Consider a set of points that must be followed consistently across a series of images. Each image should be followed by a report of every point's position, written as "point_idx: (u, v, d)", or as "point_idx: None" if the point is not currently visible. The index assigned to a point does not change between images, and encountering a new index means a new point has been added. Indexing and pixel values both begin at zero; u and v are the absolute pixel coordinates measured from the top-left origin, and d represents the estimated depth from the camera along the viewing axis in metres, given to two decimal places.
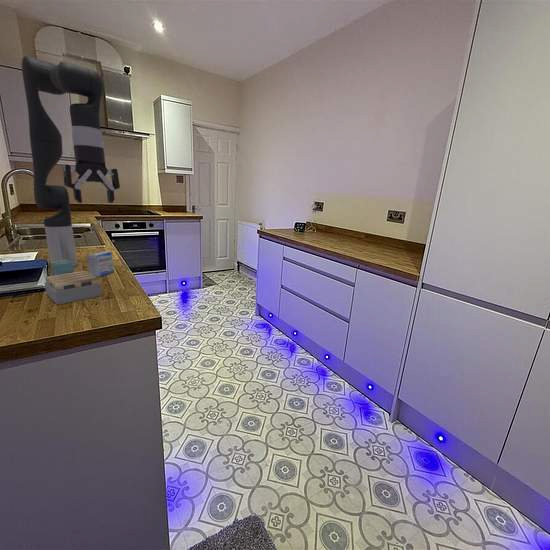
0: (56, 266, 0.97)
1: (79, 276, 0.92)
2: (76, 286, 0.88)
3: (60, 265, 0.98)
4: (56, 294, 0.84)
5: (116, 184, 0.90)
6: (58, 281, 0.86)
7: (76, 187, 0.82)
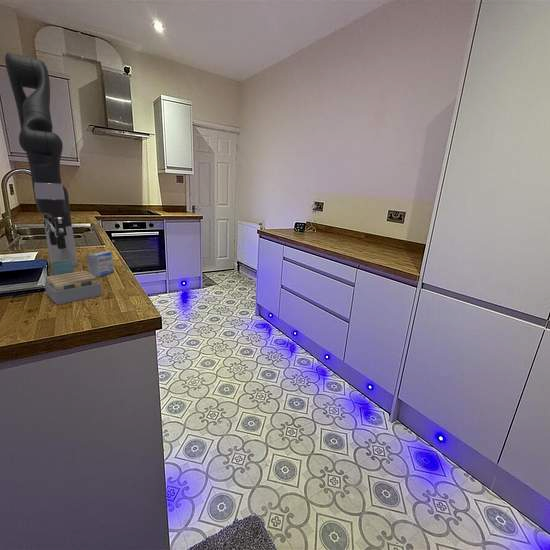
0: (56, 266, 0.97)
1: (79, 276, 0.92)
2: (76, 286, 0.88)
3: (60, 265, 0.98)
4: (56, 294, 0.84)
5: None
6: (58, 281, 0.86)
7: (65, 235, 0.95)
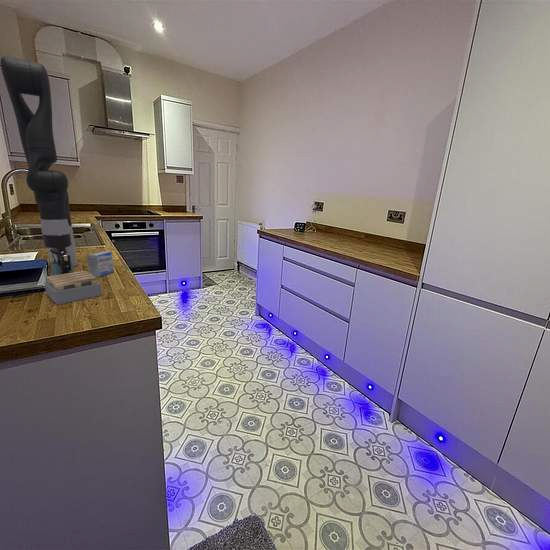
0: (56, 266, 0.97)
1: (79, 276, 0.92)
2: (76, 286, 0.88)
3: None
4: (56, 294, 0.84)
5: None
6: (58, 281, 0.86)
7: None
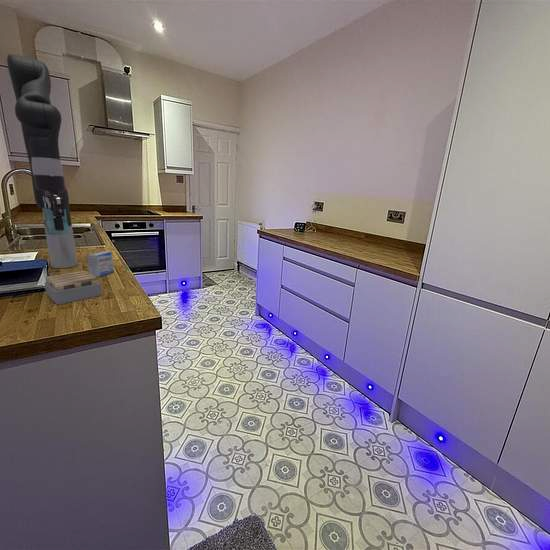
0: (48, 211, 0.89)
1: (79, 276, 0.92)
2: (76, 286, 0.88)
3: None
4: (56, 294, 0.84)
5: None
6: (58, 281, 0.86)
7: (63, 216, 0.91)
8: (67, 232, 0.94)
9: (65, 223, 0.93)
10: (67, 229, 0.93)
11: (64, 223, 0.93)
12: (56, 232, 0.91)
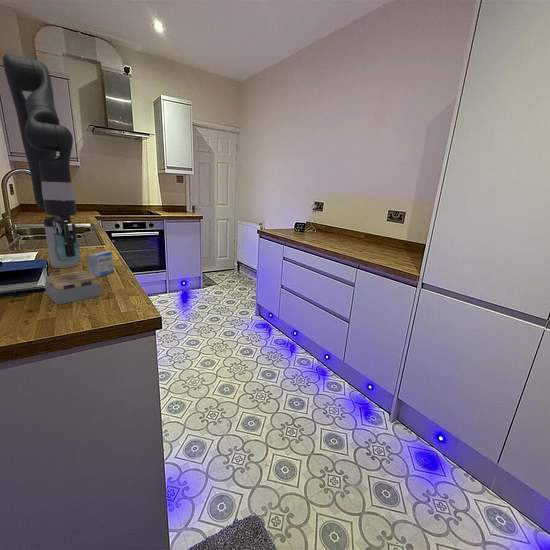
0: (59, 237, 0.84)
1: (79, 276, 0.92)
2: (76, 286, 0.88)
3: None
4: (56, 294, 0.84)
5: None
6: (58, 281, 0.86)
7: None
8: (78, 258, 0.89)
9: (76, 248, 0.88)
10: (78, 255, 0.89)
11: (75, 249, 0.88)
12: (67, 258, 0.87)
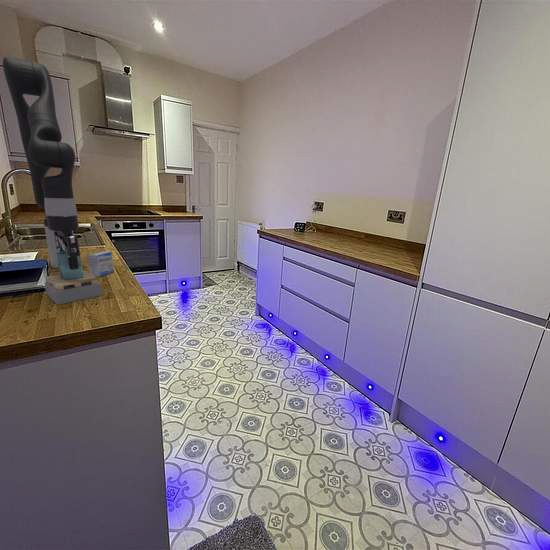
0: (62, 256, 0.86)
1: None
2: (76, 286, 0.88)
3: None
4: (56, 294, 0.84)
5: None
6: (58, 281, 0.86)
7: None
8: (81, 276, 0.91)
9: (79, 267, 0.90)
10: (81, 273, 0.91)
11: None
12: (70, 277, 0.89)
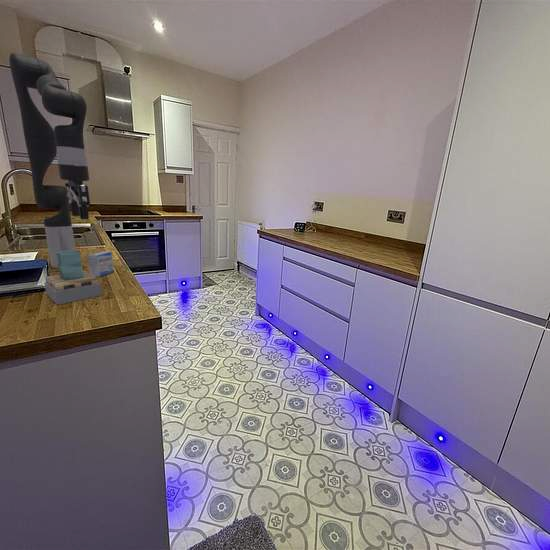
0: (62, 256, 0.86)
1: None
2: (76, 286, 0.88)
3: (67, 255, 0.87)
4: (56, 294, 0.84)
5: None
6: (58, 281, 0.86)
7: (88, 205, 0.89)
8: (81, 276, 0.91)
9: (79, 267, 0.90)
10: (81, 273, 0.91)
11: (78, 267, 0.90)
12: (70, 277, 0.89)
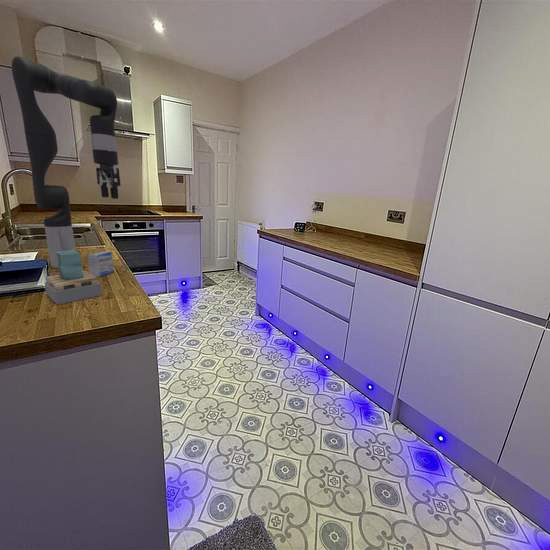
0: (62, 256, 0.86)
1: None
2: (76, 286, 0.88)
3: (67, 255, 0.87)
4: (56, 294, 0.84)
5: None
6: (58, 281, 0.86)
7: None
8: (81, 276, 0.91)
9: (79, 267, 0.90)
10: (81, 273, 0.91)
11: (78, 267, 0.90)
12: (70, 277, 0.89)
